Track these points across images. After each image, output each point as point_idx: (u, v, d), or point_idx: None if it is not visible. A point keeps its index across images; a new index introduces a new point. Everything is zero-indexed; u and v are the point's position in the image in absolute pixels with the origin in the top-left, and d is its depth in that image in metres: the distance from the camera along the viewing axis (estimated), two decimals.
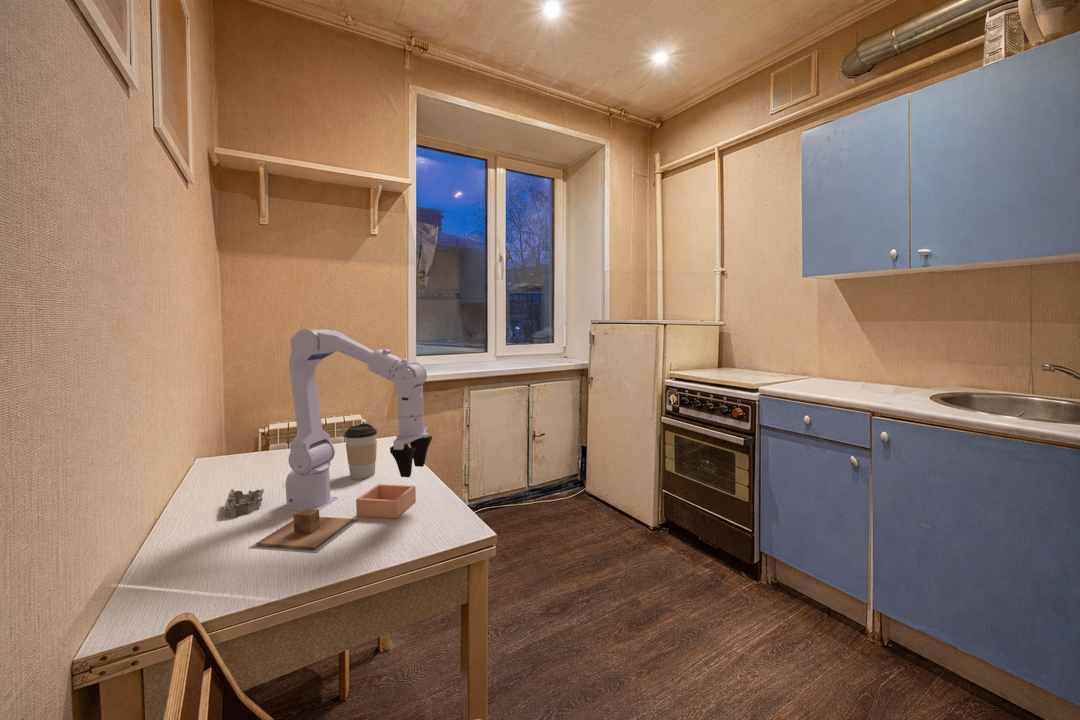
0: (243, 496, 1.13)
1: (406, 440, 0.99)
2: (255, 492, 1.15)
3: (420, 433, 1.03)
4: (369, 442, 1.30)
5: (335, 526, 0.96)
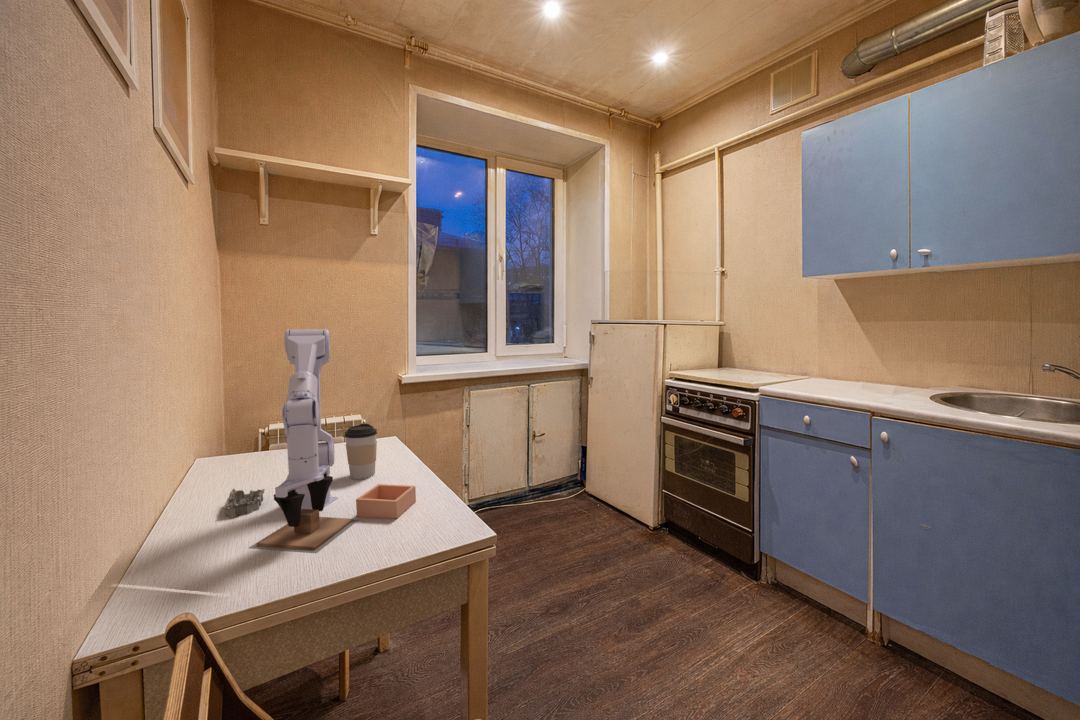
0: (244, 496, 1.13)
1: (291, 486, 0.88)
2: (256, 492, 1.15)
3: (312, 476, 0.93)
4: (369, 442, 1.30)
5: (335, 526, 0.96)
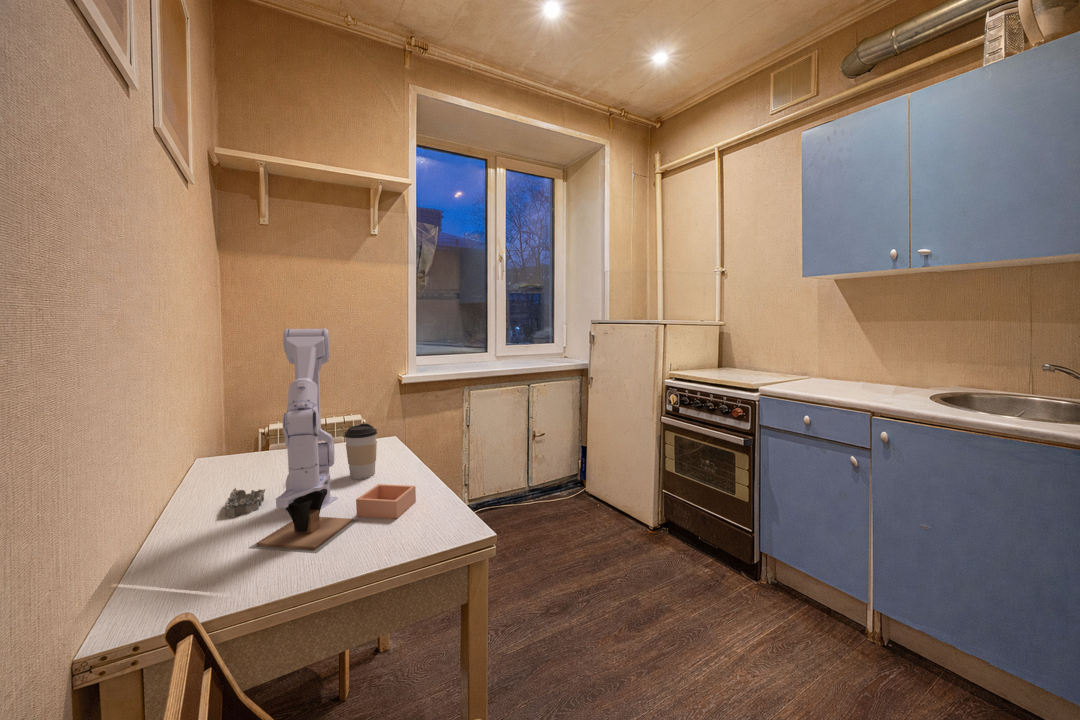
0: (245, 495, 1.13)
1: (292, 496, 0.89)
2: (258, 492, 1.15)
3: (313, 486, 0.93)
4: (369, 442, 1.30)
5: (335, 526, 0.96)
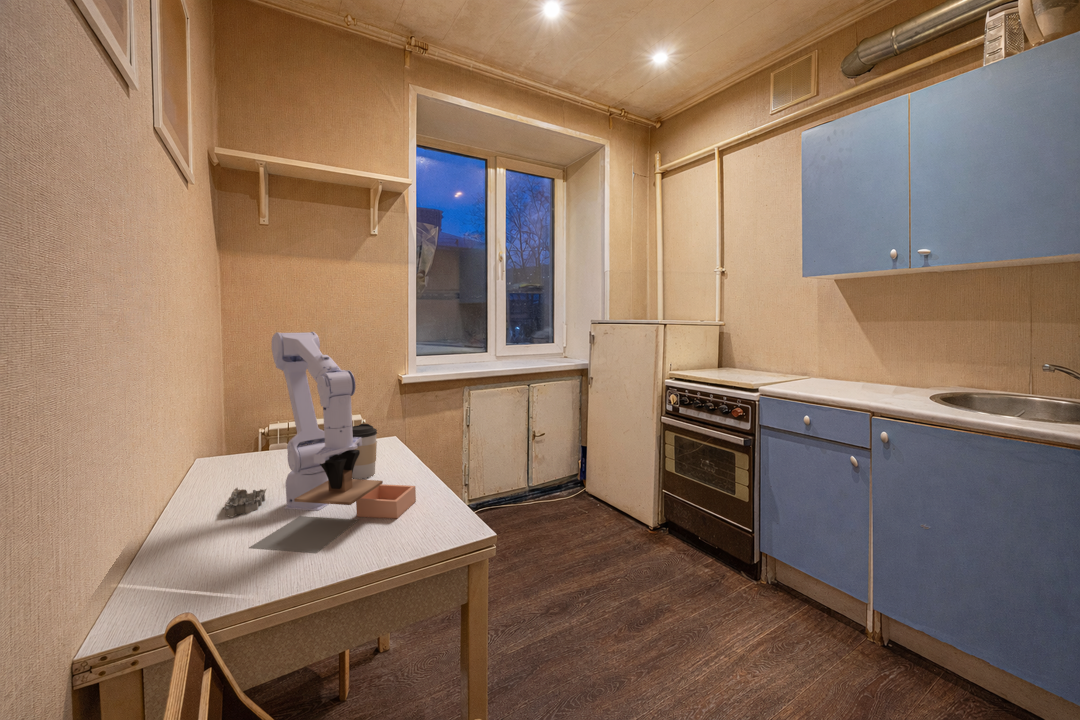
0: (247, 495, 1.13)
1: (328, 453, 0.93)
2: (259, 491, 1.15)
3: (347, 445, 0.97)
4: (369, 442, 1.30)
5: (367, 486, 1.01)
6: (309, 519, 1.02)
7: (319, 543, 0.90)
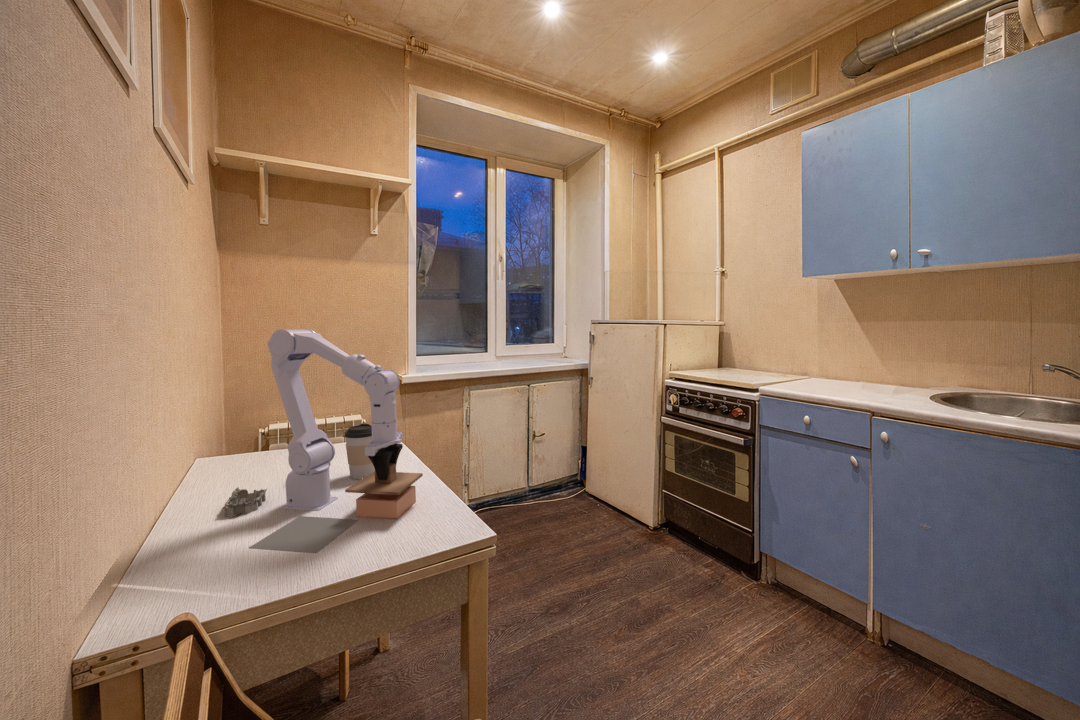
0: (247, 495, 1.14)
1: (378, 446, 1.00)
2: (260, 491, 1.15)
3: (393, 439, 1.04)
4: (369, 442, 1.30)
5: (410, 478, 1.08)
6: (309, 519, 1.02)
7: (319, 543, 0.90)
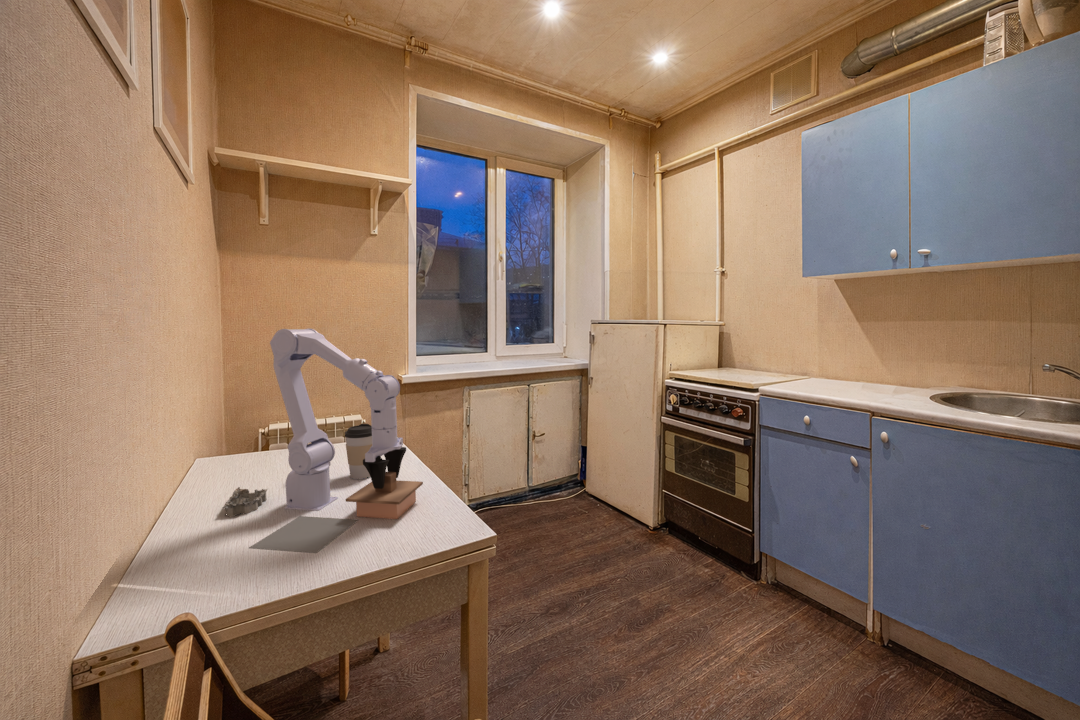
0: (248, 495, 1.14)
1: (378, 452, 1.00)
2: (261, 491, 1.15)
3: (393, 445, 1.04)
4: (369, 442, 1.30)
5: (410, 487, 1.08)
6: (309, 519, 1.02)
7: (319, 543, 0.90)
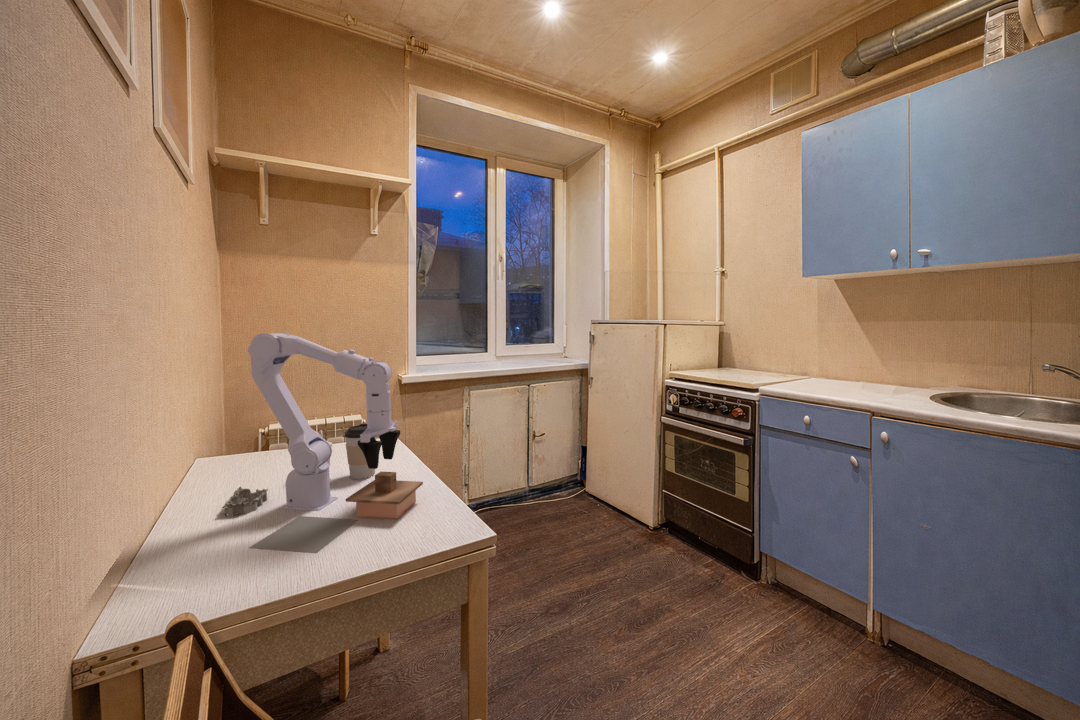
0: (250, 494, 1.14)
1: (372, 434, 1.06)
2: (262, 491, 1.15)
3: (387, 427, 1.10)
4: None
5: (410, 487, 1.08)
6: (309, 519, 1.02)
7: (319, 543, 0.90)
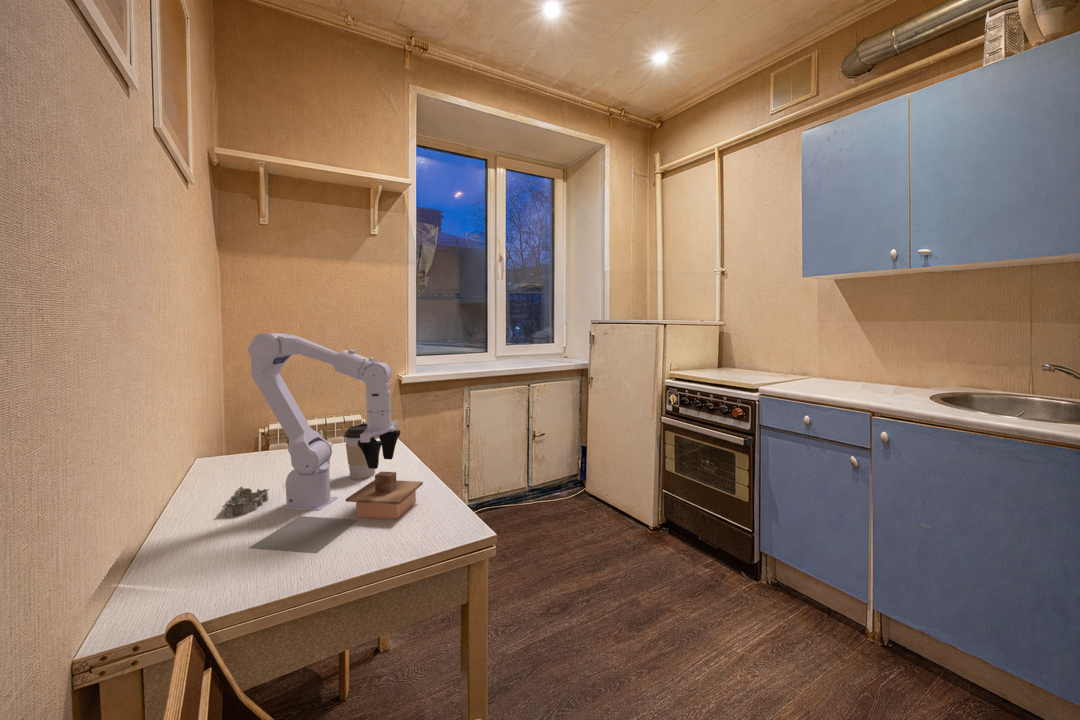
0: (251, 494, 1.14)
1: (372, 434, 1.06)
2: (263, 491, 1.15)
3: (387, 427, 1.10)
4: None
5: (410, 487, 1.08)
6: (309, 519, 1.02)
7: (319, 543, 0.90)
